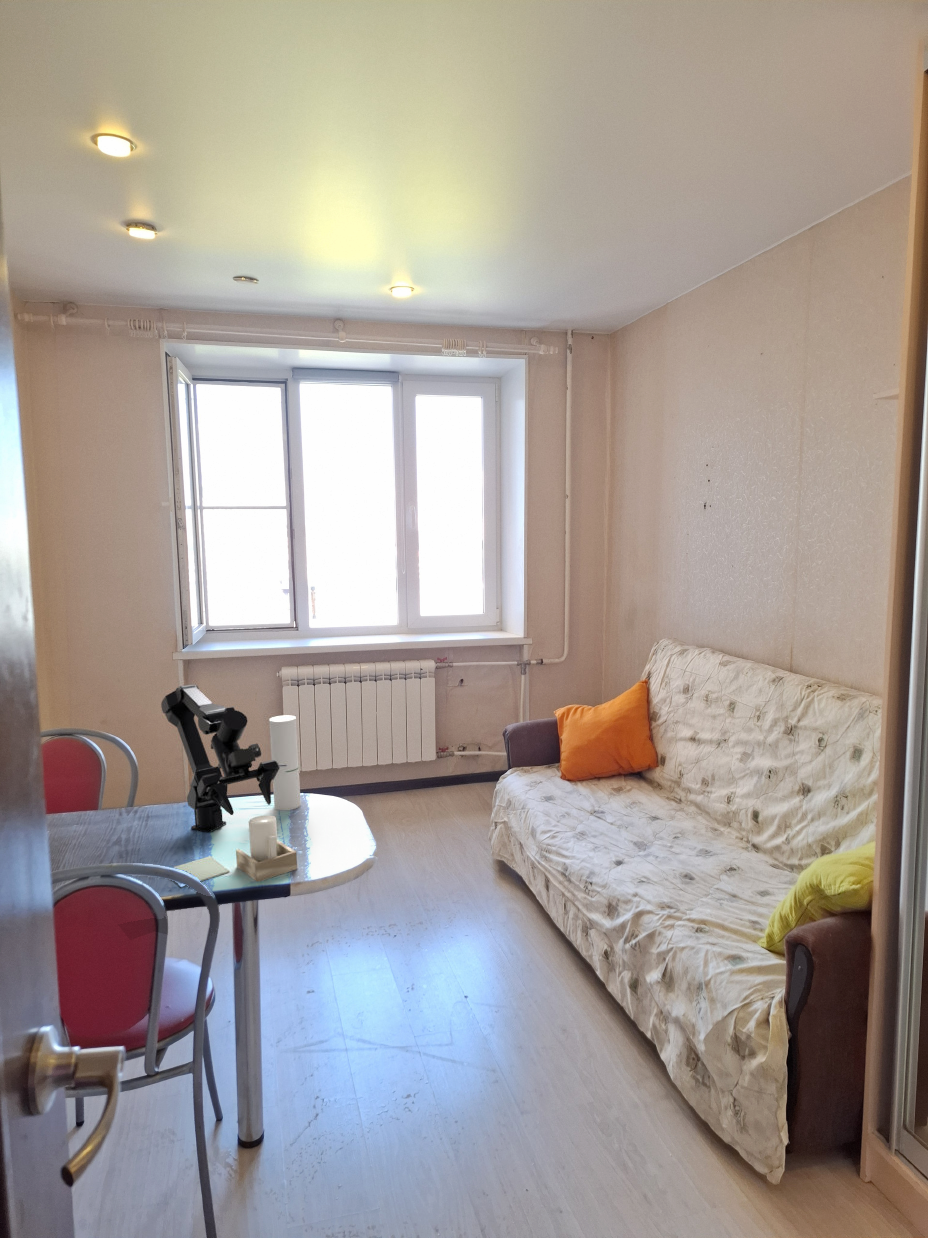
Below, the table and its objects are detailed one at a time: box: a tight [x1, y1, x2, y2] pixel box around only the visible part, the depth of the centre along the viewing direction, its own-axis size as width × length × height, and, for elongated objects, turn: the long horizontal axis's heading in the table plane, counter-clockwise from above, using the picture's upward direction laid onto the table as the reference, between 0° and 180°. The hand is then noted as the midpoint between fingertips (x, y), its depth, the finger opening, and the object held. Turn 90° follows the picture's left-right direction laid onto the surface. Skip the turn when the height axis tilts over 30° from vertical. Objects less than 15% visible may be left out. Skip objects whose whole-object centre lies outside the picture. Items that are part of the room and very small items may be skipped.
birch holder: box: [235, 839, 298, 883], centre depth 174 cm, size 11×10×4 cm
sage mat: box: [173, 855, 231, 882], centre depth 173 cm, size 11×11×1 cm
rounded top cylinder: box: [248, 814, 278, 862], centre depth 173 cm, size 8×6×11 cm
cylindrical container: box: [268, 714, 302, 811], centre depth 212 cm, size 7×7×25 cm
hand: (251, 809), depth 177 cm, fingers open, 9 cm apart
